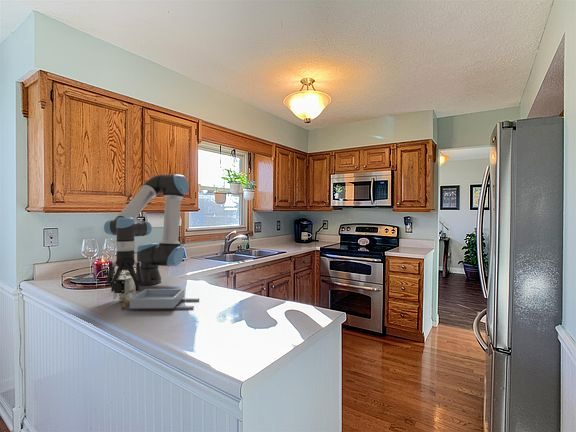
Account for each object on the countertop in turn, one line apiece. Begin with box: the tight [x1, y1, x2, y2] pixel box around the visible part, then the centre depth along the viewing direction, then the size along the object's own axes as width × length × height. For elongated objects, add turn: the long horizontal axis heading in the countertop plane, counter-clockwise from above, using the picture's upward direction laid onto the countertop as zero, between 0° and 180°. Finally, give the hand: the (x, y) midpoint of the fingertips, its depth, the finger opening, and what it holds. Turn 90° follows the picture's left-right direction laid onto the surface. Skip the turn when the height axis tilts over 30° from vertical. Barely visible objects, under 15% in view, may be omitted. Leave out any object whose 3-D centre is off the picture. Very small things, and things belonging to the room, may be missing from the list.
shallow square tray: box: [129, 288, 185, 308], centre depth 140 cm, size 18×18×4 cm
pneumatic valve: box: [113, 274, 135, 303], centre depth 146 cm, size 6×12×12 cm, turn 174°
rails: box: [120, 297, 200, 311], centre depth 140 cm, size 14×31×2 cm, turn 95°
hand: (125, 298), depth 146 cm, fingers open, 8 cm apart
